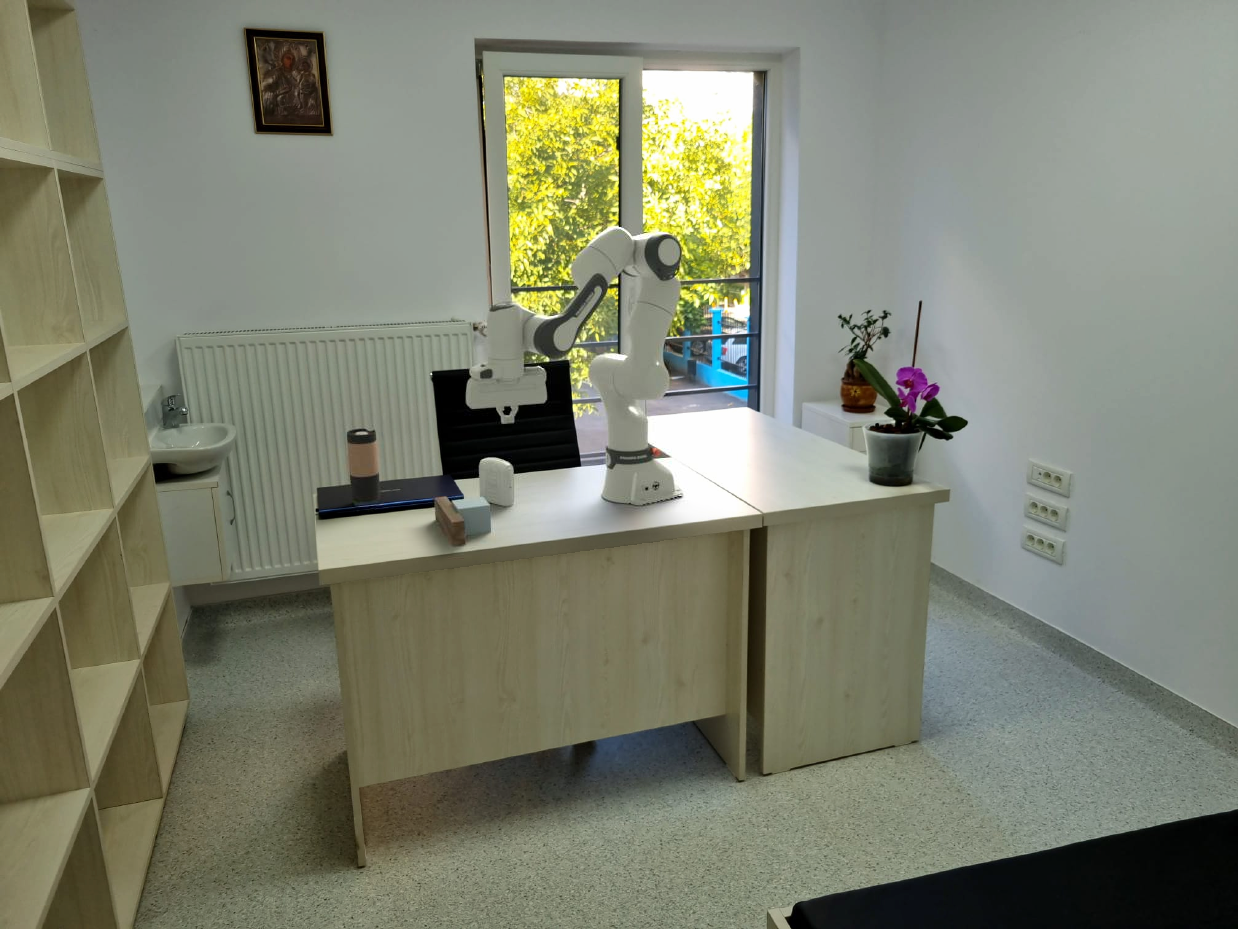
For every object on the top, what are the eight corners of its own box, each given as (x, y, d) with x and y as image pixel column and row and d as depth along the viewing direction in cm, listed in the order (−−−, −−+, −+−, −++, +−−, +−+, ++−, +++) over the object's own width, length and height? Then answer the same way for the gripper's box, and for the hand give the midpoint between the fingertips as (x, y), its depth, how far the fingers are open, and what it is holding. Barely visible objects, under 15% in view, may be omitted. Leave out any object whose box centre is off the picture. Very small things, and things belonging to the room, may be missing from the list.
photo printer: (516, 503, 254) (515, 459, 251) (506, 507, 251) (505, 463, 247) (488, 496, 260) (486, 453, 256) (477, 501, 256) (475, 457, 253)
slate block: (483, 523, 240) (482, 496, 238) (491, 531, 233) (490, 505, 231) (452, 527, 237) (451, 500, 235) (459, 536, 231) (458, 509, 229)
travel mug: (353, 509, 249) (347, 436, 243) (350, 501, 256) (344, 429, 250) (383, 506, 252) (378, 433, 246) (378, 497, 258) (373, 427, 253)
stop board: (447, 518, 242) (446, 496, 241) (465, 544, 225) (464, 520, 223) (435, 519, 241) (434, 497, 240) (453, 546, 224) (452, 522, 222)
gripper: (542, 363, 239) (543, 416, 243) (463, 369, 232) (465, 423, 236) (550, 367, 234) (550, 422, 238) (469, 373, 226) (471, 429, 230)
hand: (507, 422), depth 237 cm, fingers closed
